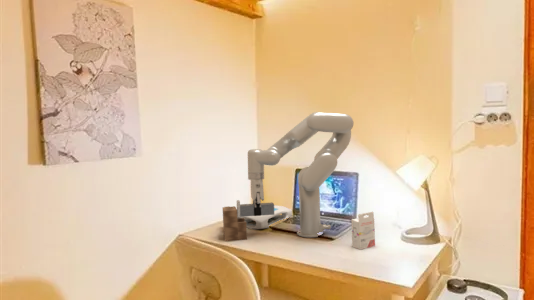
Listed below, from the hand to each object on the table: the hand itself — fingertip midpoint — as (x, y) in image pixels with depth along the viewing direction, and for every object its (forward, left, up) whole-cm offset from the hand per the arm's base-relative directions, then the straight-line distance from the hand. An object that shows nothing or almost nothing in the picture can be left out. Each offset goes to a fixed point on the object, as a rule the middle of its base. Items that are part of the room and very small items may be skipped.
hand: (256, 214), depth 179 cm
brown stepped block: (+11, -7, -10) cm, 16 cm away
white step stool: (-6, -24, -11) cm, 27 cm away
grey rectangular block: (0, 0, 0) cm, 0 cm away
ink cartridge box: (-40, +28, -11) cm, 50 cm away
